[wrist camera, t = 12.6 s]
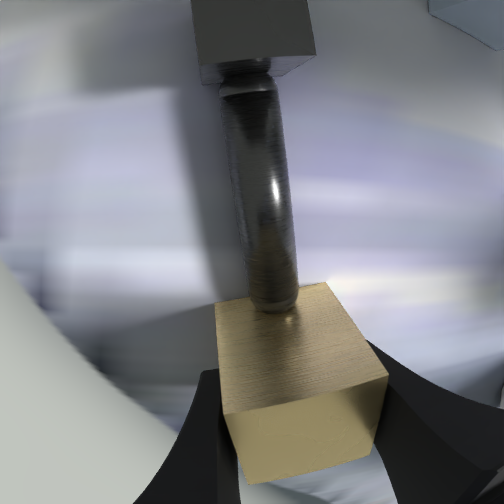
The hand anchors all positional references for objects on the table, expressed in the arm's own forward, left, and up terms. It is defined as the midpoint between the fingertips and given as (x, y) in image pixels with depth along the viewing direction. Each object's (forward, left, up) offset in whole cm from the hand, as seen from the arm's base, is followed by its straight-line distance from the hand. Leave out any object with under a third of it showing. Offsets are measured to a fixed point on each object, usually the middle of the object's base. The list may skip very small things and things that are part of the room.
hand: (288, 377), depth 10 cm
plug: (+3, -4, -2) cm, 5 cm away
